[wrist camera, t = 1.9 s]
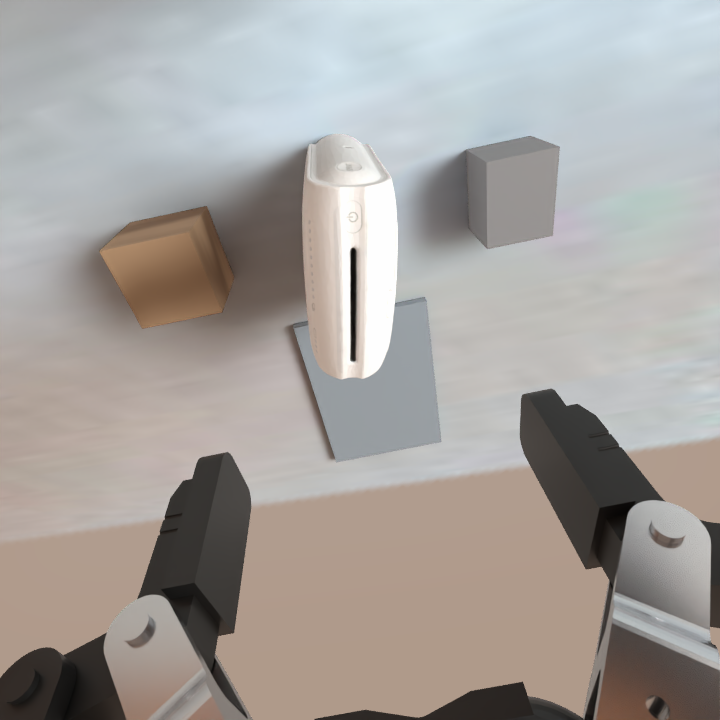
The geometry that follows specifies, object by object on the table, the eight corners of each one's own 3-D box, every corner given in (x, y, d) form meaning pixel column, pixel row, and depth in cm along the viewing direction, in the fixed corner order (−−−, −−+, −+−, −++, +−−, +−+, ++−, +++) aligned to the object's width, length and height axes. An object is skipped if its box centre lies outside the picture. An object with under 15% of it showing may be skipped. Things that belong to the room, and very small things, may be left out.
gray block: (465, 149, 27) (486, 162, 24) (529, 135, 27) (559, 146, 24) (468, 227, 30) (487, 249, 27) (526, 215, 30) (552, 235, 26)
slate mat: (293, 324, 33) (293, 328, 32) (424, 297, 32) (426, 301, 32) (336, 457, 41) (336, 462, 41) (439, 437, 41) (441, 441, 41)
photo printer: (301, 130, 25) (293, 179, 15) (374, 130, 26) (413, 179, 16) (310, 291, 31) (309, 403, 21) (369, 289, 32) (396, 398, 22)
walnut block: (130, 222, 28) (98, 251, 24) (206, 205, 27) (188, 232, 23) (165, 292, 31) (142, 328, 26) (234, 277, 30) (222, 312, 26)
